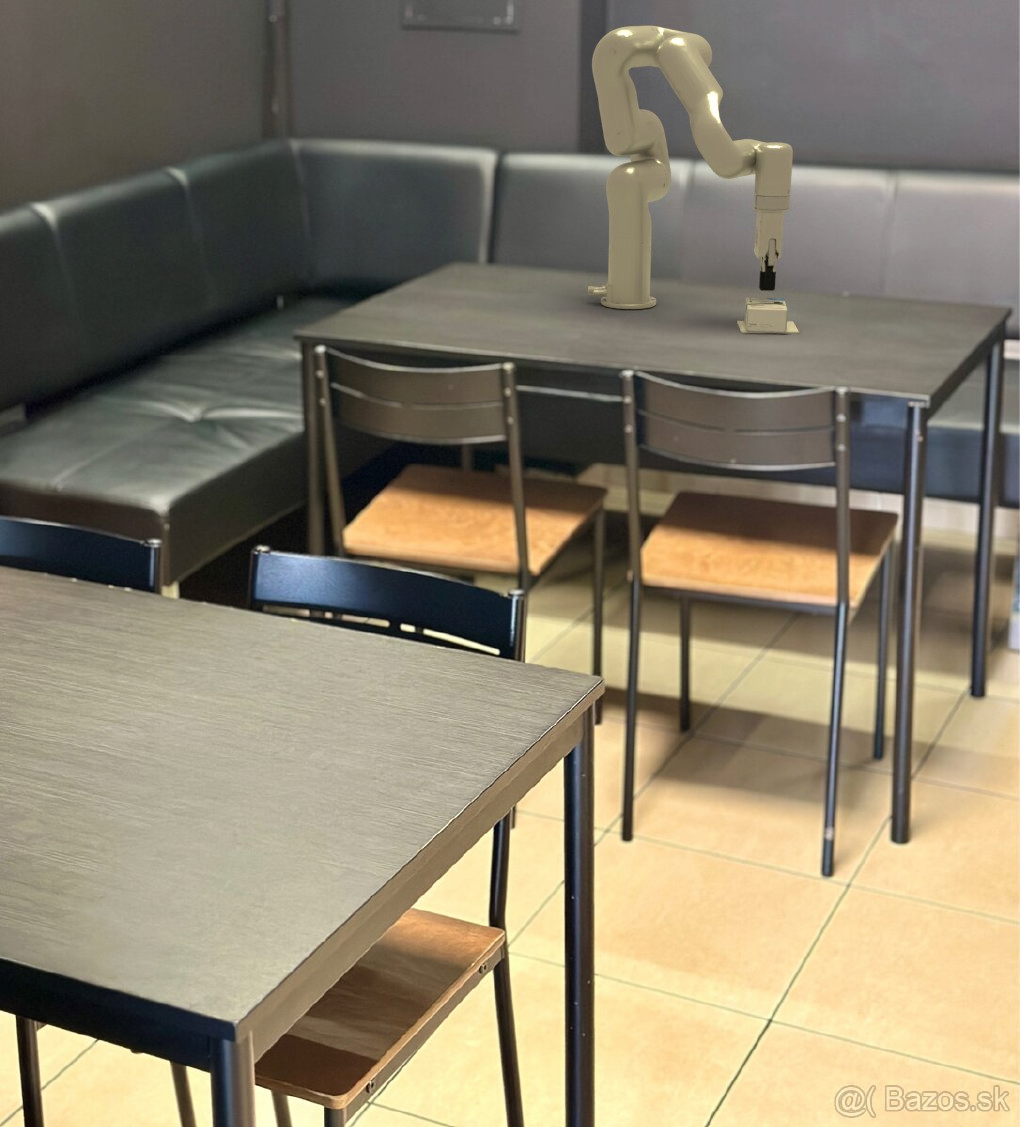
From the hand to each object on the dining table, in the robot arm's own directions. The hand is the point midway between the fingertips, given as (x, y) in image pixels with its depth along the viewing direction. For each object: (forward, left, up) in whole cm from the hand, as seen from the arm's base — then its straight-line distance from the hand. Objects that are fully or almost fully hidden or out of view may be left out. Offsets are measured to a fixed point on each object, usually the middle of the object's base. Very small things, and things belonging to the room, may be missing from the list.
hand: (766, 289), depth 342 cm
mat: (0, -5, -7) cm, 9 cm away
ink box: (0, +1, -4) cm, 4 cm away
